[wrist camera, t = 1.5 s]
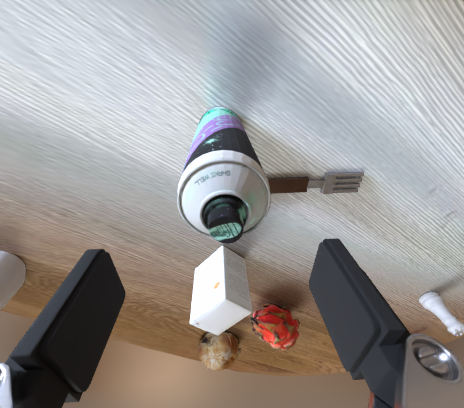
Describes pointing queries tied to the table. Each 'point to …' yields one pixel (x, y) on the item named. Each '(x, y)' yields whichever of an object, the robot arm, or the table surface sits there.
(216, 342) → the bread roll
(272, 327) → the dragon fruit
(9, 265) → the lumpy-topped squat cylinder
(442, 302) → the rook chess piece
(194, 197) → the spray can
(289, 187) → the fork
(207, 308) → the small box
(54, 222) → the table surface
